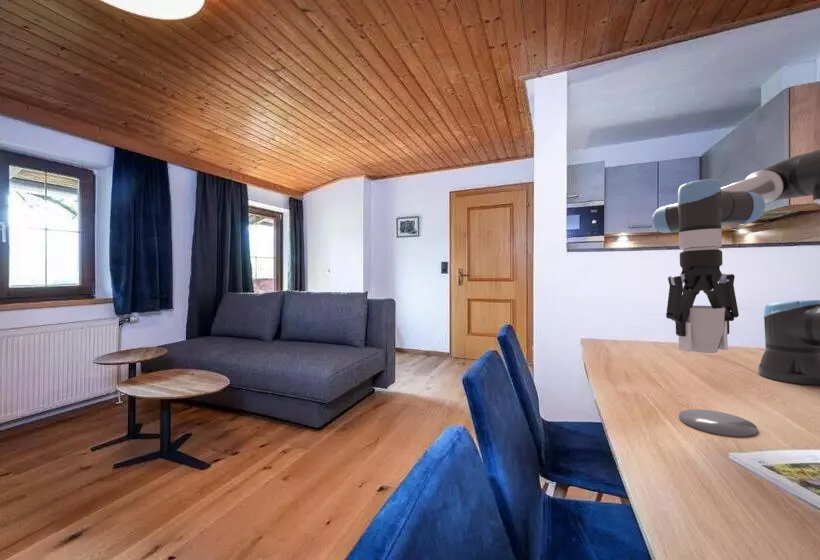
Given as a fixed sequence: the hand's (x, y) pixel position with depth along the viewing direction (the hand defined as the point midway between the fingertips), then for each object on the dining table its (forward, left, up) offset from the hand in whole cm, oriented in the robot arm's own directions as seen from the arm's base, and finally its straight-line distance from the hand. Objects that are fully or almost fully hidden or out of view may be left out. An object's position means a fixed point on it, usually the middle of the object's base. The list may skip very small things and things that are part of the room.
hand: (702, 349), depth 81 cm
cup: (0, 0, 0) cm, 0 cm away
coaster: (0, +3, -16) cm, 16 cm away
